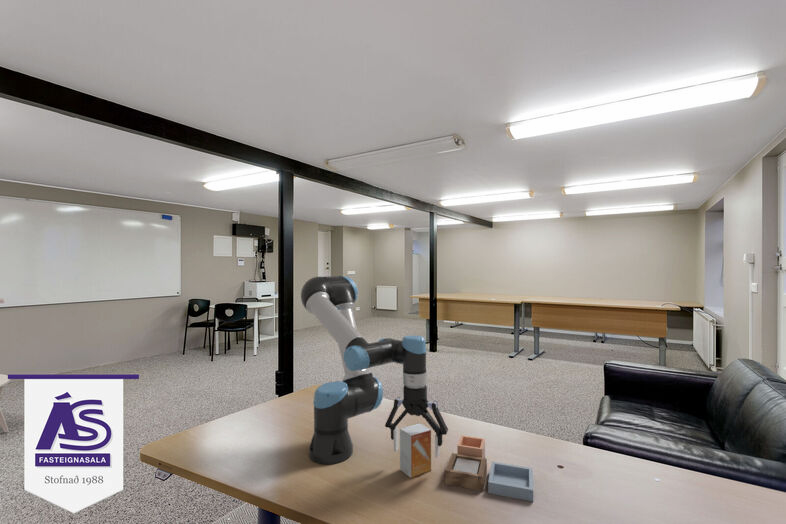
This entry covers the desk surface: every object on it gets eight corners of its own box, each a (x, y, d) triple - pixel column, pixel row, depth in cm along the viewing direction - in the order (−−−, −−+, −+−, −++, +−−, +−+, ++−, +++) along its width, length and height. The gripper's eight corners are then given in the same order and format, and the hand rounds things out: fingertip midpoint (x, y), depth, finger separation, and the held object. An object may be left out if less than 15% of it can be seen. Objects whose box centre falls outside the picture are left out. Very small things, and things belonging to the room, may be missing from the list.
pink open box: (457, 464, 121) (457, 445, 121) (461, 452, 129) (461, 435, 129) (482, 468, 119) (482, 449, 119) (485, 456, 126) (484, 438, 126)
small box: (411, 478, 113) (411, 435, 113) (399, 469, 118) (399, 428, 119) (431, 470, 117) (431, 429, 118) (419, 462, 123) (419, 422, 123)
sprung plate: (452, 474, 111) (452, 470, 111) (457, 461, 118) (457, 457, 118) (476, 479, 109) (476, 474, 109) (479, 465, 116) (479, 461, 116)
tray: (488, 493, 105) (488, 482, 105) (491, 471, 117) (491, 461, 117) (533, 501, 101) (533, 490, 101) (532, 478, 113) (532, 468, 113)
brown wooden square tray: (445, 483, 110) (445, 470, 110) (452, 465, 120) (452, 453, 121) (483, 491, 106) (483, 476, 106) (486, 471, 117) (486, 458, 117)
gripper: (374, 385, 119) (375, 452, 118) (451, 392, 111) (453, 464, 110) (382, 379, 126) (384, 442, 125) (455, 384, 118) (457, 452, 117)
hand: (416, 452), depth 118 cm, fingers open, 13 cm apart
